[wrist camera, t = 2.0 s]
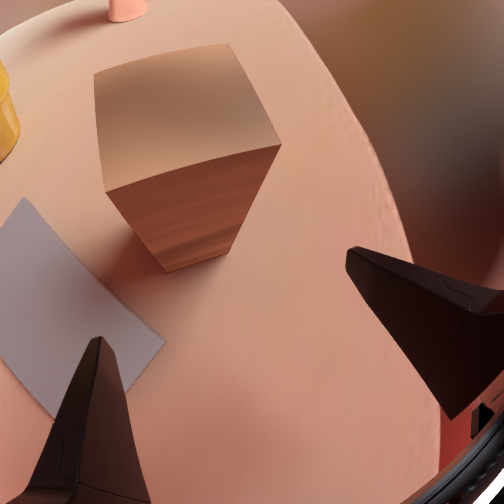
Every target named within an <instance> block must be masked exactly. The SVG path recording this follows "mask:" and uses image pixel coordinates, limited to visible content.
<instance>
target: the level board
mask: <svg viewBox="0 0 504 504" xmlns="http://www.w3.org/2000/svg"><path fill="white" fill-rule="evenodd" d="M97 336H103V337H104V338H105V340H106V341H107V342H108V344H109V345H110V346H111V348H112V349H113V351H114V353H115V355H116V360H117V364H118V368H119V373H120V377H121V380H122V384H123V388H124V392H125V393H126V392H127V391H128V389H129V388H130V387H131V386H132V384H133V383H134V382H135V381H136V379H137V378H138V377H139V375H140V374H141V373H142V372H143V370H144V369H145V368H146V367H147V365H148V364H149V363H150V362H151V360H152V359H153V358H154V356H155V355H156V354H157V353H158V351H159V350H160V349H161V348H162V346H163V345H164V344H165V343H166V340H165V339H163V338H162V337H161V336H160V335H159V334H157V333H156V332H155V331H154V330H153V329H151V328H150V327H149V326H148V325H147V324H146V323H144V322H143V321H142V320H141V319H140V318H139V317H138V316H136V315H135V314H134V313H133V312H132V311H131V310H130V309H129V308H128V307H126V306H125V305H124V304H123V303H122V302H121V301H120V300H119V299H118V298H117V297H116V296H115V295H114V294H113V293H112V292H111V291H109V290H108V289H107V288H106V287H105V286H104V285H103V284H102V283H101V282H100V281H99V280H98V279H97V278H96V277H95V276H94V275H93V274H92V273H91V272H90V271H89V270H88V268H87V267H86V266H85V265H84V264H83V263H82V262H81V261H80V260H79V259H78V258H77V257H76V256H75V255H74V254H73V253H72V251H71V250H70V249H69V248H68V247H67V246H66V245H65V244H64V242H63V241H62V240H61V239H60V238H59V237H58V236H57V234H56V233H55V232H54V231H53V230H52V229H51V227H50V226H49V225H48V224H47V223H46V221H45V220H44V219H43V218H42V216H41V215H40V214H39V213H38V211H37V210H36V209H35V208H34V206H33V205H32V204H31V203H30V201H28V200H27V199H26V198H25V197H23V198H22V199H21V201H20V202H19V203H18V205H17V206H16V207H15V209H14V210H13V211H12V213H11V214H10V216H9V217H8V218H7V220H6V221H5V223H4V224H3V226H2V227H1V229H0V357H1V358H2V359H3V361H4V362H5V363H6V365H7V366H8V367H9V369H10V370H11V371H12V372H13V374H14V375H15V376H16V377H17V379H18V380H19V381H20V382H21V383H22V385H23V386H24V387H25V388H26V389H27V390H28V391H29V393H30V394H31V395H32V396H33V397H34V398H35V399H36V400H37V401H38V402H39V404H40V405H41V406H42V407H43V408H44V409H45V410H46V411H47V412H48V413H49V414H50V415H51V416H52V417H53V418H54V419H55V418H56V415H57V412H58V410H59V407H60V405H61V403H62V400H63V398H64V395H65V393H66V391H67V388H68V386H69V384H70V381H71V379H72V377H73V375H74V373H75V370H76V368H77V366H78V364H79V362H80V360H81V358H82V356H83V353H84V351H85V349H86V347H87V345H88V343H89V341H90V340H91V339H92V338H94V337H97Z"/></svg>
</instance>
